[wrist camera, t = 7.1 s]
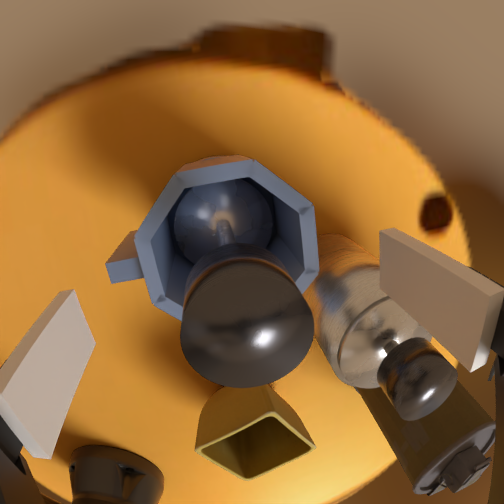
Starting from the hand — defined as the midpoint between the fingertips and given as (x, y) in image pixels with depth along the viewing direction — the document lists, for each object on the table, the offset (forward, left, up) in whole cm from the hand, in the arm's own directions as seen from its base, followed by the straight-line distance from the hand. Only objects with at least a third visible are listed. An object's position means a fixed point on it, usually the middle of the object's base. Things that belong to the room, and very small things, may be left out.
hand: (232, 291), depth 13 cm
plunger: (0, 0, -10) cm, 10 cm away
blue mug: (-1, 0, -16) cm, 16 cm away
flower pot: (-1, -21, -16) cm, 26 cm away
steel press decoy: (+9, -8, -16) cm, 20 cm away
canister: (+17, -23, -16) cm, 33 cm away
